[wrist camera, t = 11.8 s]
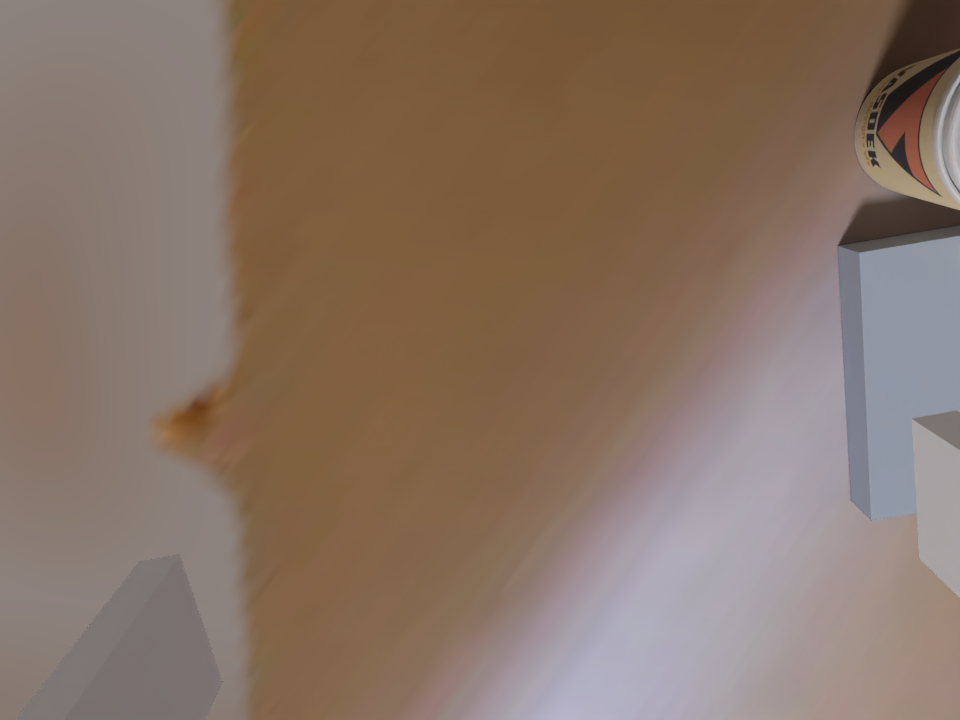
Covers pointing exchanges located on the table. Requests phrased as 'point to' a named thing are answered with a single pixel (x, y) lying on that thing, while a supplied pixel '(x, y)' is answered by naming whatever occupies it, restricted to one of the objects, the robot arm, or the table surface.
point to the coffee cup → (915, 130)
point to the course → (897, 357)
